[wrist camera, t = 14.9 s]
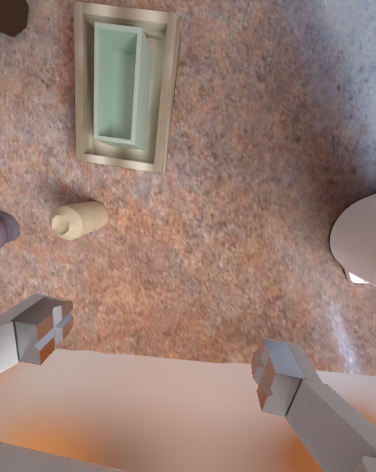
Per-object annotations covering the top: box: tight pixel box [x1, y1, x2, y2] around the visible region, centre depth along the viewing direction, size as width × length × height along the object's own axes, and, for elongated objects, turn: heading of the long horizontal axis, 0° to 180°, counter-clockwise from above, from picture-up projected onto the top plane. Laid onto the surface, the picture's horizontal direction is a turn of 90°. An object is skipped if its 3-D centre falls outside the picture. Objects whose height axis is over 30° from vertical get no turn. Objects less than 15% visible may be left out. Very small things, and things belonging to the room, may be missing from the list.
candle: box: [49, 201, 109, 240], centre depth 33 cm, size 6×6×10 cm
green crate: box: [94, 22, 153, 151], centre depth 29 cm, size 6×14×5 cm, turn 171°
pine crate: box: [74, 1, 181, 174], centre depth 30 cm, size 14×20×4 cm
